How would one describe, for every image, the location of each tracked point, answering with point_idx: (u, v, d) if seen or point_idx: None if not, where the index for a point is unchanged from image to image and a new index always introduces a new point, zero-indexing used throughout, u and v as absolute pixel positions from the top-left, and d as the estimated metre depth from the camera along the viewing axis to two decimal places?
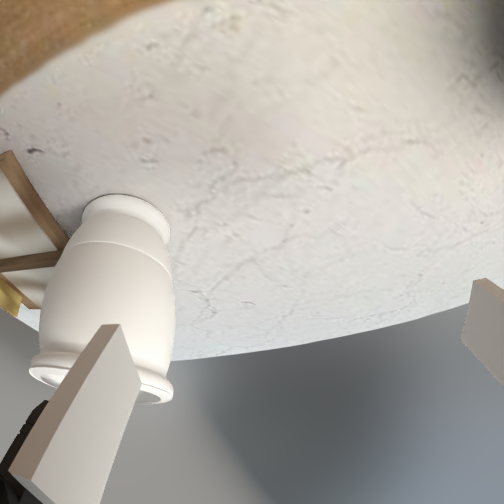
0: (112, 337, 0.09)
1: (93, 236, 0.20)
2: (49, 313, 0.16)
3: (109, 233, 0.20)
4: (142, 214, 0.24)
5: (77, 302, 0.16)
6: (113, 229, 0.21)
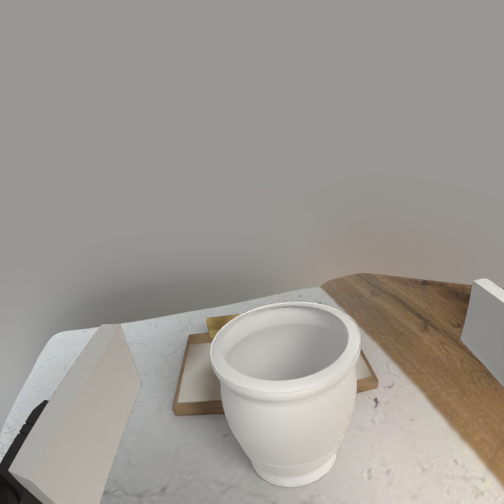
0: (112, 337, 0.09)
1: None
2: None
3: None
4: (324, 465, 0.22)
5: None
6: None
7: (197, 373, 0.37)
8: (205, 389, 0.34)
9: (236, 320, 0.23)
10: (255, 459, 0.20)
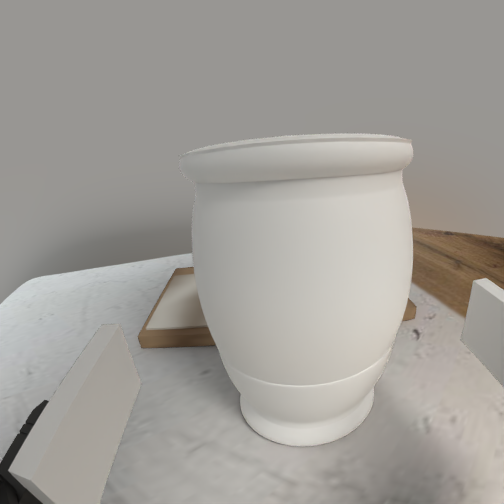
0: (112, 337, 0.09)
1: None
2: None
3: None
4: (358, 407, 0.15)
5: None
6: None
7: (178, 300, 0.30)
8: (184, 315, 0.27)
9: None
10: (244, 376, 0.13)
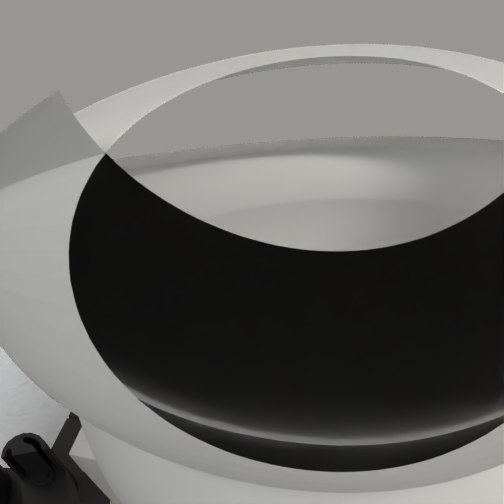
0: None
1: None
2: None
3: None
4: None
5: None
6: None
7: None
8: None
9: (181, 152, 0.08)
10: None
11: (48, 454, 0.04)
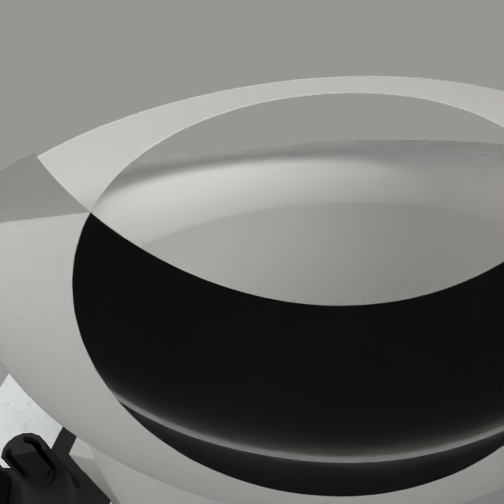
0: None
1: None
2: (472, 271, 0.08)
3: None
4: None
5: None
6: None
7: None
8: None
9: (182, 156, 0.08)
10: None
11: (48, 454, 0.04)
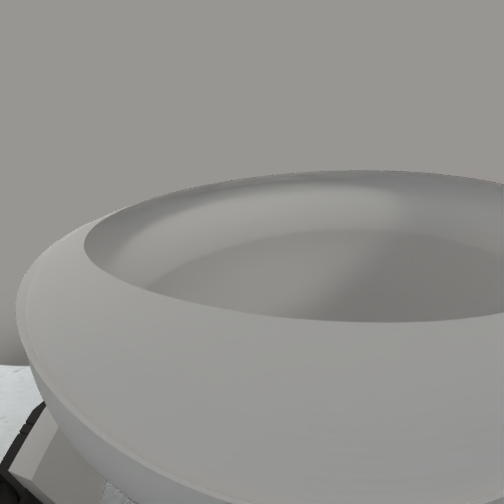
0: None
1: None
2: (472, 298, 0.08)
3: None
4: None
5: None
6: None
7: None
8: None
9: (195, 187, 0.08)
10: None
11: None
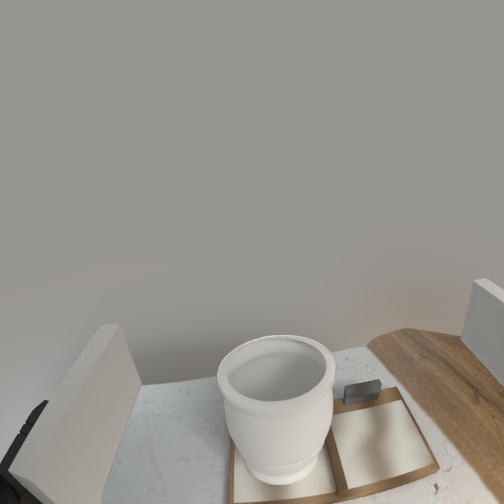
0: (112, 337, 0.09)
1: None
2: None
3: None
4: (306, 467, 0.27)
5: None
6: None
7: None
8: (263, 486, 0.26)
9: (238, 349, 0.28)
10: (249, 460, 0.25)
11: None
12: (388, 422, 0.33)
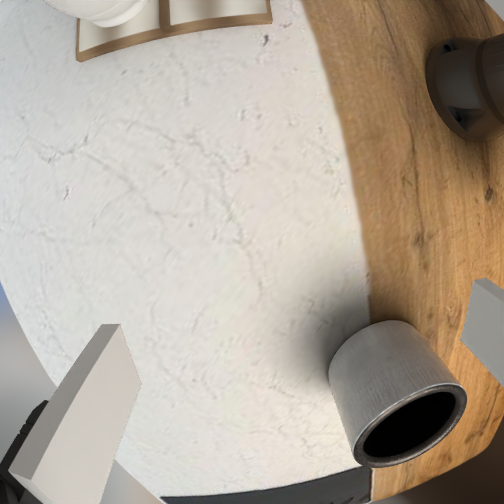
0: (112, 337, 0.09)
1: None
2: None
3: None
4: (134, 7, 0.25)
5: None
6: None
7: None
8: (101, 30, 0.26)
9: None
10: None
11: None
12: None
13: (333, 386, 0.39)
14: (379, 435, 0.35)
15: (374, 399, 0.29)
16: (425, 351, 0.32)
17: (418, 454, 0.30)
